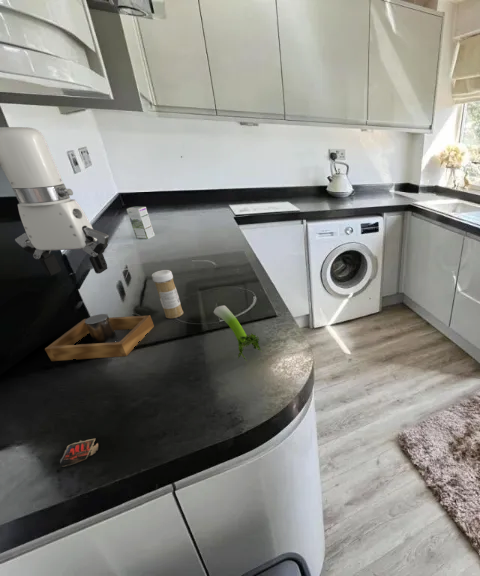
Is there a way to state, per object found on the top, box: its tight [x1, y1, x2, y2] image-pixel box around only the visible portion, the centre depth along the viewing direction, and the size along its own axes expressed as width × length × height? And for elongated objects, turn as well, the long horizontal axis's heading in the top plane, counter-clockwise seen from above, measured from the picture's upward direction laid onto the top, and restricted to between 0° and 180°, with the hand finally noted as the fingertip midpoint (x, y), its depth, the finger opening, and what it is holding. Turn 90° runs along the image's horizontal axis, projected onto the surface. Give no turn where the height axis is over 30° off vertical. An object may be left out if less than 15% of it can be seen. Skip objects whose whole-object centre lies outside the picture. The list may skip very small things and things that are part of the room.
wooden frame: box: [44, 315, 155, 362], centre depth 80 cm, size 16×13×4 cm
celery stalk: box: [213, 305, 263, 362], centre depth 83 cm, size 6×7×30 cm
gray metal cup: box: [85, 313, 119, 344], centre depth 80 cm, size 4×4×7 cm
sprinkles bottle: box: [151, 269, 184, 320], centre depth 90 cm, size 5×5×14 cm
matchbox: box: [59, 437, 99, 468], centre depth 54 cm, size 5×5×1 cm
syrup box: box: [126, 206, 156, 240], centre depth 154 cm, size 6×6×14 cm
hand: (78, 272), depth 73 cm, fingers open, 9 cm apart
